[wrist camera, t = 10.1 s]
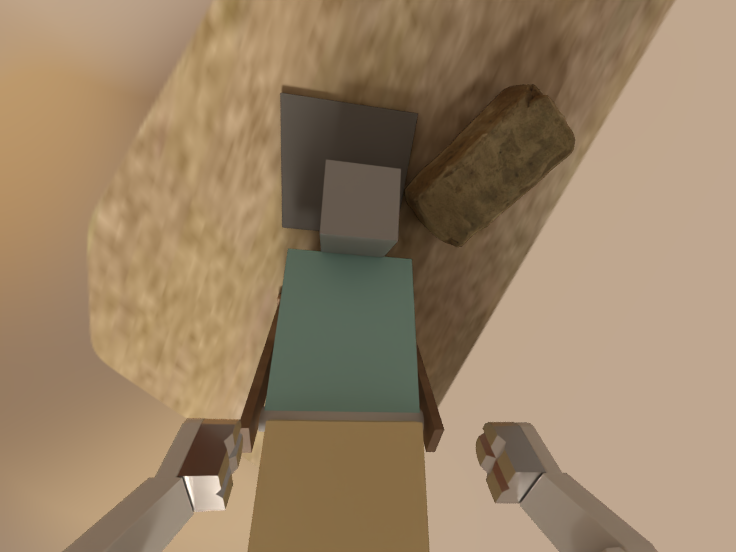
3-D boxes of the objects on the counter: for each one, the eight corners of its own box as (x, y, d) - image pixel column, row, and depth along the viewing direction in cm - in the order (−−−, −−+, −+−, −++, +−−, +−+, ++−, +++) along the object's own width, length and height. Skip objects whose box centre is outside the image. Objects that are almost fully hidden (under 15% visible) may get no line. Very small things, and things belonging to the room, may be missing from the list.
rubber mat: (394, 236, 27) (394, 237, 27) (283, 225, 26) (282, 227, 25) (416, 113, 22) (418, 113, 22) (281, 92, 21) (280, 92, 20)
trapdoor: (414, 518, 20) (442, 553, 15) (252, 524, 18) (230, 563, 14) (404, 274, 27) (421, 247, 22) (289, 265, 26) (282, 234, 21)
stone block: (544, 138, 24) (588, 145, 20) (437, 235, 28) (454, 259, 23) (506, 79, 22) (546, 72, 17) (395, 194, 25) (405, 212, 21)
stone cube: (383, 257, 24) (386, 199, 24) (398, 240, 19) (400, 168, 20) (321, 252, 23) (326, 192, 24) (319, 233, 18) (325, 159, 19)
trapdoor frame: (394, 351, 34) (423, 491, 22) (279, 346, 32) (241, 494, 20) (406, 299, 31) (450, 429, 18) (278, 290, 29) (230, 428, 16)
